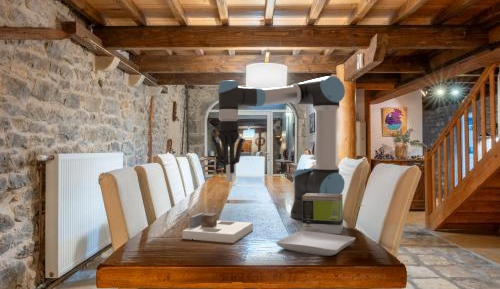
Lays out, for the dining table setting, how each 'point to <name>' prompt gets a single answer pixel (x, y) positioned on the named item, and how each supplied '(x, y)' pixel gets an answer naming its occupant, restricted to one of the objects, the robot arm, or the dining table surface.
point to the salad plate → (315, 243)
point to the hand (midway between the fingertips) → (229, 181)
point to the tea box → (322, 213)
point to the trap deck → (216, 230)
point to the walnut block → (208, 220)
